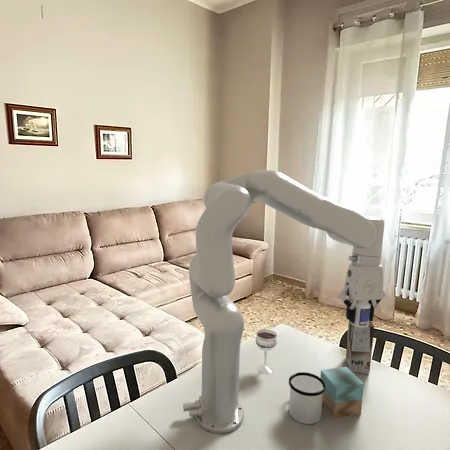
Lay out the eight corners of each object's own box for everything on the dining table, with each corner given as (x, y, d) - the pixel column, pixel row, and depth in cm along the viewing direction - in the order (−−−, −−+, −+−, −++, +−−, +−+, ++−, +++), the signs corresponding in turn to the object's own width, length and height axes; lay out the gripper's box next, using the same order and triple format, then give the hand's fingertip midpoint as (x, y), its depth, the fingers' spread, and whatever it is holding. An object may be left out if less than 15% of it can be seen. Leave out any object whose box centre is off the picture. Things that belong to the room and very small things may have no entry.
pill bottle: (370, 323, 103) (373, 294, 102) (366, 329, 99) (370, 300, 97) (351, 318, 106) (354, 290, 105) (347, 324, 102) (350, 295, 100)
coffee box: (370, 374, 111) (375, 327, 108) (349, 371, 112) (353, 324, 110) (364, 359, 120) (369, 315, 117) (345, 357, 121) (349, 313, 118)
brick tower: (333, 418, 91) (336, 387, 89) (318, 399, 99) (321, 369, 97) (360, 414, 93) (363, 383, 91) (344, 395, 100) (346, 366, 99)
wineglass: (279, 370, 112) (281, 335, 110) (265, 377, 108) (267, 341, 106) (264, 360, 117) (266, 327, 115) (250, 367, 113) (251, 333, 111)
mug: (330, 422, 89) (333, 390, 88) (297, 429, 87) (299, 396, 85) (306, 393, 101) (308, 364, 99) (276, 399, 98) (278, 369, 97)
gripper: (346, 264, 94) (340, 327, 97) (400, 262, 98) (393, 323, 101) (331, 257, 101) (326, 316, 104) (383, 255, 105) (376, 313, 108)
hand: (359, 319), depth 102 cm, fingers closed on pill bottle, 5 cm apart
